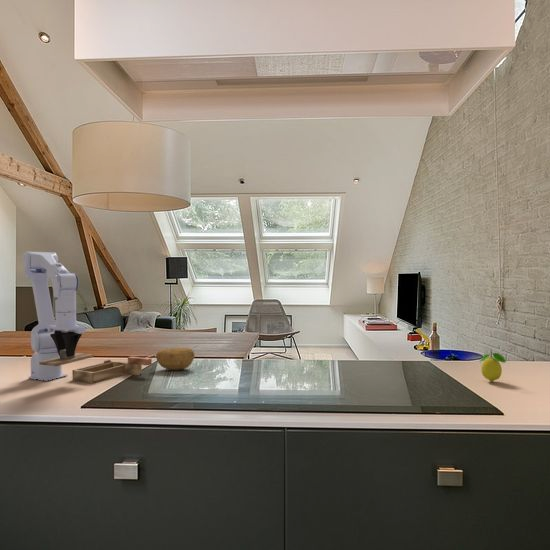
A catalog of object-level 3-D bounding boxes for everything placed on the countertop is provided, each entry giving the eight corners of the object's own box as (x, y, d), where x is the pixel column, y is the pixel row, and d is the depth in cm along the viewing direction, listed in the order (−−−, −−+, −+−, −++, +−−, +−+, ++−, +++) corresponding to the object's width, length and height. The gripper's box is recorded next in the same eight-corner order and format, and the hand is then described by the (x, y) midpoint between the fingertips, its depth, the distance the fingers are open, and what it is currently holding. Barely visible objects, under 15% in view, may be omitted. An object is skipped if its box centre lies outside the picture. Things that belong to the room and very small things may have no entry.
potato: (163, 366, 154) (162, 345, 154) (198, 367, 152) (198, 345, 152) (150, 372, 144) (150, 349, 144) (188, 373, 142) (188, 350, 142)
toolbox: (72, 379, 135) (72, 368, 135) (111, 369, 149) (111, 359, 149) (106, 384, 128) (106, 372, 128) (143, 373, 143) (143, 362, 143)
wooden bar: (127, 363, 142) (127, 357, 142) (131, 362, 144) (131, 356, 144) (147, 365, 138) (147, 359, 138) (151, 364, 140) (151, 358, 140)
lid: (39, 364, 123) (38, 353, 123) (77, 355, 135) (77, 345, 135) (55, 366, 120) (55, 354, 120) (93, 356, 132) (93, 346, 132)
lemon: (506, 385, 122) (506, 351, 122) (485, 384, 124) (484, 351, 124) (499, 379, 129) (498, 347, 129) (478, 378, 130) (478, 347, 130)
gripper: (93, 311, 128) (93, 355, 128) (61, 310, 134) (62, 351, 134) (73, 313, 122) (74, 359, 122) (41, 312, 128) (41, 355, 128)
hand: (66, 355), depth 128 cm, fingers closed on lid, 3 cm apart
